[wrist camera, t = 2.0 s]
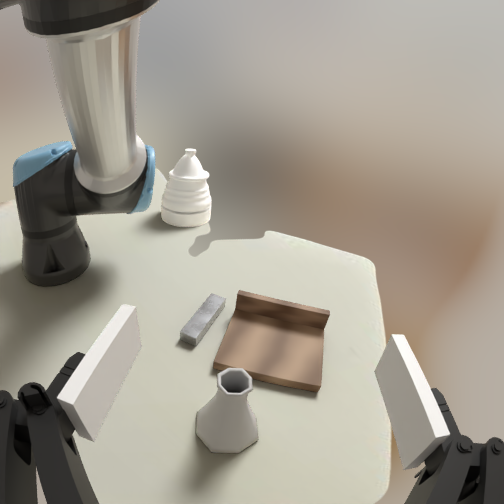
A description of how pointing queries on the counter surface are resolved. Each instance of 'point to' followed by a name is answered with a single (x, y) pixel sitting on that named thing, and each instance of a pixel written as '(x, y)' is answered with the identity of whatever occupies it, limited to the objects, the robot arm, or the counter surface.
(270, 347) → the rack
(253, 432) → the flask
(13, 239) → the counter surface
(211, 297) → the grey rectangular bar
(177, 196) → the honey pot
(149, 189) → the robot arm
